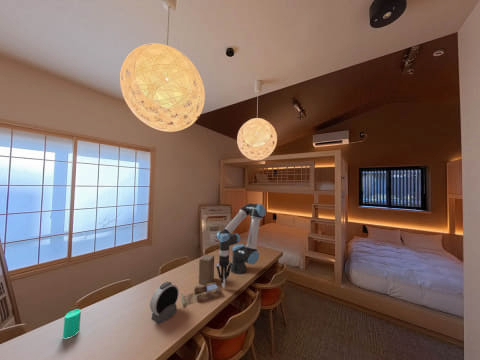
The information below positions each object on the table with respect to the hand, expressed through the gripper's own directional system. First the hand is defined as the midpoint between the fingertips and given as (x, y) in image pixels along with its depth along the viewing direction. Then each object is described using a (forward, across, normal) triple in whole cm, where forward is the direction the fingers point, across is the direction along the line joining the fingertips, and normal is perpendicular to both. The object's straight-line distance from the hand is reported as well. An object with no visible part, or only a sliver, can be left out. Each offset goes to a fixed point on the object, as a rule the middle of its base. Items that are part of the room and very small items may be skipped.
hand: (223, 286), depth 122 cm
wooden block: (+3, +9, -17) cm, 19 cm away
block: (+2, +9, 0) cm, 9 cm away
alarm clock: (+3, +41, +7) cm, 41 cm away
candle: (+4, +85, +1) cm, 85 cm away
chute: (+3, +17, 0) cm, 17 cm away
